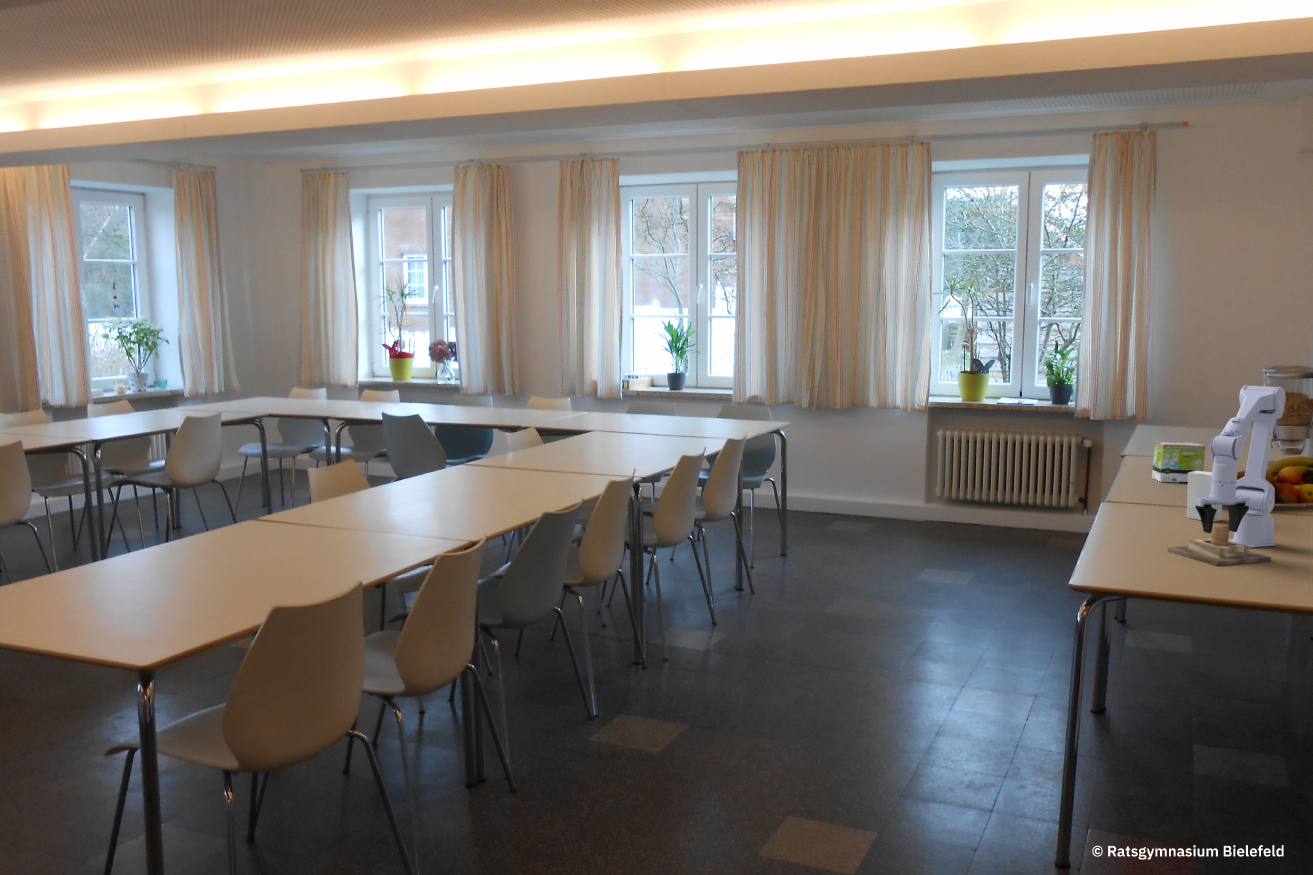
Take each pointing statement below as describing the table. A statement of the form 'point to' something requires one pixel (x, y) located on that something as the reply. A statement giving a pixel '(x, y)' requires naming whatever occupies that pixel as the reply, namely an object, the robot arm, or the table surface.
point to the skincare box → (1200, 493)
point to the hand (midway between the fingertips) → (1220, 531)
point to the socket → (1219, 553)
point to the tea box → (1177, 460)
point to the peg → (1220, 535)
